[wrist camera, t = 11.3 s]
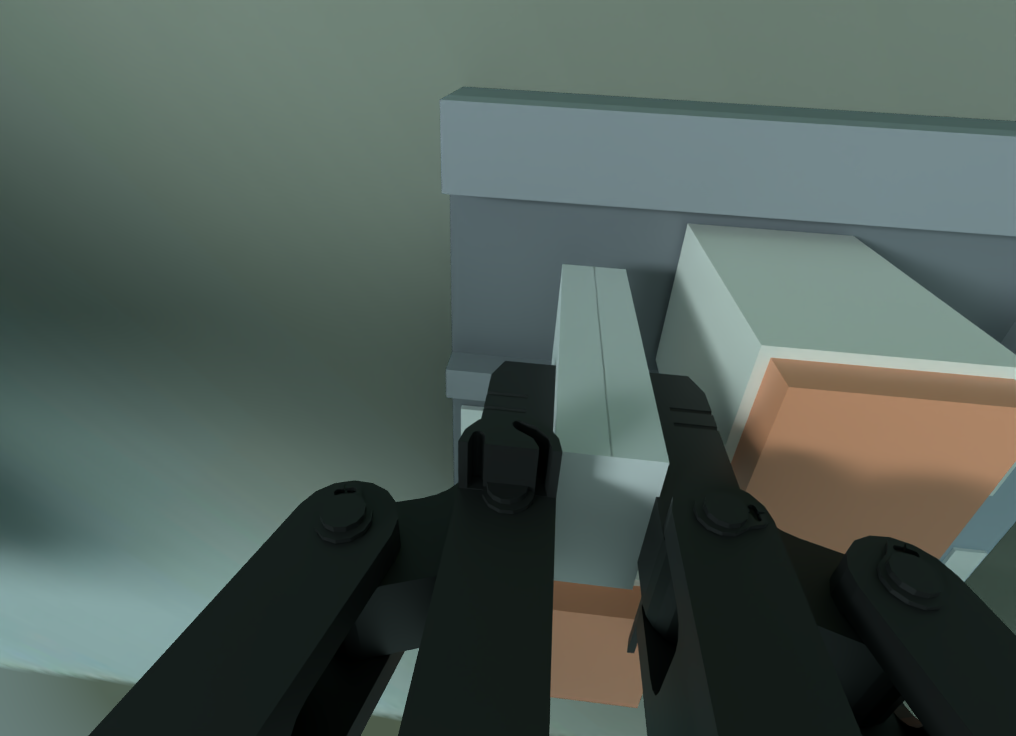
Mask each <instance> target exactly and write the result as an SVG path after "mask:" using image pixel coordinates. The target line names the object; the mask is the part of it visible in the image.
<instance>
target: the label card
mask: <svg viewBox="0 0 1016 736" xmlns="http://www.w3.org/2000/svg"><path fill="white" fill-rule="evenodd" d="M1015 522H1016V462H1015V463H1014V464H1013V465H1012V467H1011V468H1010V469H1009V471H1008V472H1007V473H1006V474H1005V476H1004V477H1003V478H1002V480H1001V481H1000V482H999V483H998V485H997V486H996V487H995V489H994V490H993V491H992V492H991V494H990V495H989V496H988V498H987V499H986V500H985V501H984V503H983V504H982V505H981V507H980V508H979V509H978V510H977V512H976V513H975V514H974V516H973V517H972V518H971V519H970V521H969V522H968V523H967V525H966V526H965V527H964V528H963V530H962V531H961V532H960V534H959V535H958V536H957V537H956V539H955V540H954V541H953V543H952V544H951V545H950V546H949V548H948V549H947V550H946V552H945V553H944V554H943V555H942V557H941V558H940V559H939V560H940V561H941V562H942V563H943V564H945V565H946V566H947V567H948V568H949V569H950V570H952V571H953V572H954V573H955V574H956V575H958V576H959V577H960V578H961V579H962V580H963V582H965V581H966V579H967V578H968V577H969V576H970V575H971V574H972V572H973V571H974V570H975V569H976V568H977V567H978V565H979V564H980V563H981V562H982V561H983V559H984V558H985V557H986V556H987V555H988V554H989V552H990V551H991V550H992V549H993V548H994V547H995V545H996V544H997V543H998V542H999V541H1000V539H1001V538H1002V537H1003V536H1004V535H1005V534H1006V532H1007V531H1008V530H1009V529H1010V528H1011V527H1012V525H1013V524H1014V523H1015Z"/></svg>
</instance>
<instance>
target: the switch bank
mask: <svg viewBox="0 0 1016 736" xmlns="http://www.w3.org/2000/svg"><path fill="white" fill-rule="evenodd" d="M440 135H441V180H442V194H450V236H451V308H452V354H451V356H450V359H449V362H448V365H447V367H446V398H453V453H454V485H455V484H457V483H458V440H459V439H460V437H461V435H462V434H463V432H464V430H465V429H466V428H467V427H469V426H470V425H471V424H473V423H474V422H476V421H477V420H479V419H481V417H482V413H483V409H484V404H485V400H486V395H487V391H488V387H489V382H490V378H491V374H492V373H493V372H494V371H495V370H496V369H497V368H498V367H499V366H500V365H501V364H502V363H503V362H504V361H514V362H525V363H535V364H546V365H551V364H552V354H553V345H554V336H555V327H556V318H557V309H558V300H559V291H560V282H561V273H562V264H568V265H580V266H592V267H604V268H615V269H626V273H627V277H628V282H629V286H630V290H631V295H632V299H633V304H634V308H635V313H636V317H637V321H638V326H639V330H640V335H641V339H642V344H643V348H644V353H645V357H646V361H647V366H648V370H649V373H659V371H658V367H657V363H656V355H657V351H658V347H659V343H660V338H661V334H662V330H663V326H664V321H665V317H666V313H667V309H668V304H669V300H670V296H671V292H672V288H673V283H674V279H675V275H676V271H677V266H678V262H679V258H680V254H681V250H682V245H683V241H684V237H685V233H686V228H687V224H702V225H715V226H728V227H741V228H755V229H768V230H781V231H795V232H808V233H821V234H834V235H848V236H854V237H856V238H857V239H858V240H860V241H861V242H862V243H864V244H865V245H867V246H868V247H869V248H871V249H872V250H873V251H875V252H876V253H877V254H879V255H880V256H882V257H883V258H884V259H886V260H887V261H888V262H890V263H891V264H892V265H894V266H895V267H897V268H898V269H899V270H901V271H902V272H903V273H905V274H906V275H908V276H909V277H910V278H912V279H913V280H914V281H916V282H917V283H918V284H920V285H921V286H923V287H924V288H925V289H927V290H928V291H929V292H931V293H932V294H933V295H935V296H936V297H938V298H939V299H940V300H942V301H943V302H944V303H946V304H947V305H948V306H950V307H951V308H953V309H954V310H955V311H957V312H958V313H959V314H961V315H962V316H963V317H965V318H966V319H968V320H969V321H970V322H972V323H973V324H974V325H976V326H977V327H979V328H980V329H981V330H983V331H984V332H985V333H987V334H988V335H989V336H991V337H992V338H994V339H995V340H996V341H998V342H999V343H1000V344H1002V345H1003V346H1004V347H1006V348H1007V349H1009V350H1010V351H1011V352H1013V353H1014V354H1015V355H1016V121H1004V120H988V119H972V118H956V117H940V116H924V115H908V114H892V113H876V112H860V111H844V110H828V109H812V108H796V107H780V106H764V105H748V104H732V103H716V102H700V101H684V100H668V99H652V98H636V97H620V96H604V95H588V94H572V93H556V92H540V91H524V90H508V89H492V88H476V87H462V88H460V89H458V90H456V91H454V92H453V93H451V94H449V95H447V96H446V97H444V98H442V99H440Z"/></svg>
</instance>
